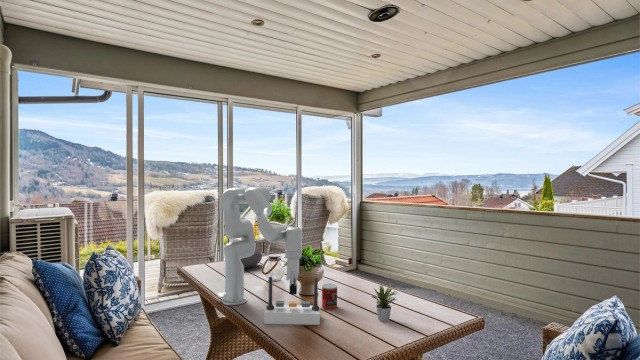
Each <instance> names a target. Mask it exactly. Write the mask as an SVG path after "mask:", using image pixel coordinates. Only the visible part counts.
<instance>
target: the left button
mask: <svg viewBox="0 0 640 360" xmlns="http://www.w3.org/2000/svg"><path fill="white" fill-rule="evenodd" d="M275 305H276V307H284V305H285V300H276V302H275Z"/></svg>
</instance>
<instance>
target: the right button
mask: <svg viewBox="0 0 640 360" xmlns="http://www.w3.org/2000/svg"><path fill="white" fill-rule="evenodd" d="M301 305H302V307H310V306H311V301H310V300H302V302H301Z"/></svg>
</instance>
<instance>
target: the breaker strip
mask: <svg viewBox="0 0 640 360" xmlns="http://www.w3.org/2000/svg"><path fill="white" fill-rule="evenodd" d="M273 305H274V309H273V310H267V309H266V308H265V310H264V312H263V317H264V318H263V323H264V325H305V326H306V325H313V326H315V325H319V326H320V324H321V309H320V310H319V311H313V310H312V306H313V305H310V307H302V304H301V305H299V304H297V307H289V304H284V307H276V304H273ZM318 306H319V307H320V308H321V305H318Z"/></svg>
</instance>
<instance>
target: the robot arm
mask: <svg viewBox="0 0 640 360" xmlns="http://www.w3.org/2000/svg"><path fill="white" fill-rule="evenodd" d="M271 198H272V194H271V192H270V190H269V189H268V188H267V187H265V186H263V187H262V186H261V187H260V186H259V187H257V186H256V187H252V186H251V187H230V188H228V189H226V190H224V191H223V192H222V194H221V200H220V202H221V207H222V208H221V209H222V212H223V222H224V233H225V234H224V235H225V236H226V238H227V239H229V240H233V239H234V240H235V239H241V240H235V241H231V242H228V243H226V244H225V245H224V247H223V249H222V250H223V258H224V262H225V263H224V264H225V265H224V269H225V270H224V271H225V272H224V273H225V278H224V279H225V281H224V282H225V287H224V288H225V289H224V291H225V292H223V293H222V292H218V293H217V295H216V296H217V298H218V299H221V303H222V304H223V305H226V306H239V305H242V304H245V303H247V301H248V299H247V297H246V296H245V293H244V292H245V277H244V276H245V268H244V266H243V264H242V262H241V259H242V258H246V257H249V256H252V255H253V254H254V252H255V248H256V241H255V240H256V239H255V229H254V225H253V223H252V221H250V220H248V219H241V211H240V209H239V207H238V206H237V205H241V204H247V205H248V207H250V208H251V210H252V212H253V213H254V214H255V215H256V217H257V222H256V223H257V230H258V231H259V233H260V234H261V236H262V237H263V238H264V239H265V240H266V241H267V242H269V243H270V244H277V243H281V242H285V245H284V246H285V250H284V251H285V252H284V253H285V254H284V256H285V257H284V258H285V259H286V260H287V261H286V280H285V281H289V295H297V293H298V292H297V290H298V287H297V286H298V285H297V280H298V278H299V271H300V259H302V255H303V254H302V252H303V251H302V247H303V243H302V240H303V232H302V231H303V230H302V228H301V227H298V226H291V225H288V224H283V225H276V226H273V225H272V224H271V223H270V221H269V220H268V217H269V216H270V215H271V214H272V212H273V206H272V204H270V201H271Z"/></svg>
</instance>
